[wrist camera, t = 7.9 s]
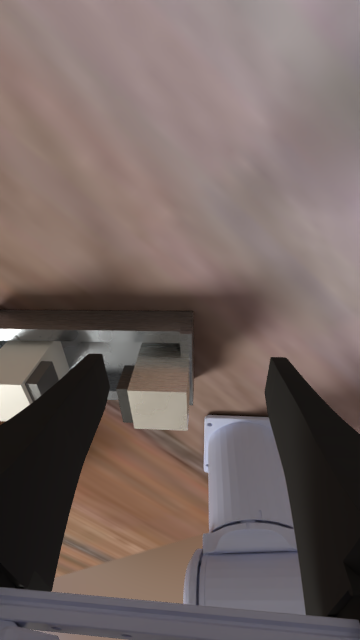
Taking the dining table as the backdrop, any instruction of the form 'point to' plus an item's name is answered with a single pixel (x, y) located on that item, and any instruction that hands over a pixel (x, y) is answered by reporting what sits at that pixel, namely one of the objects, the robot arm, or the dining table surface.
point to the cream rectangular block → (28, 373)
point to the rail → (123, 356)
